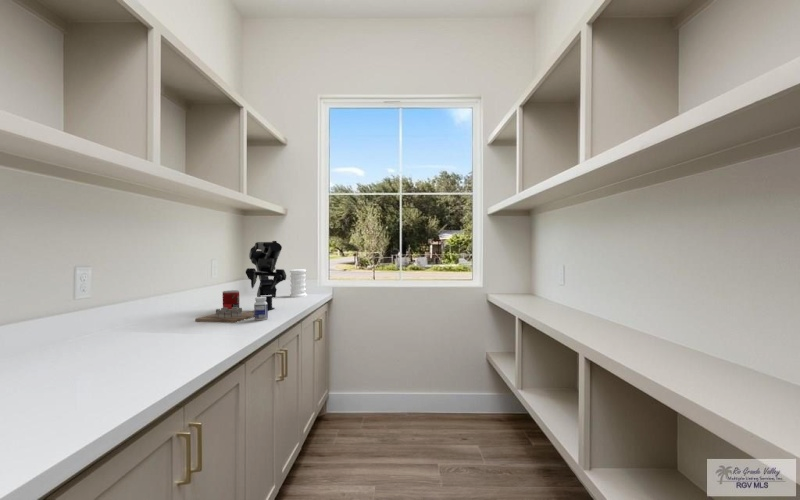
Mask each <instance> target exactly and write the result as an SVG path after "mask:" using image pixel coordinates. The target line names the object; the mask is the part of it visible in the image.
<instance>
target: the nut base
mask: <svg viewBox="0 0 800 500" xmlns="http://www.w3.org/2000/svg"><path fill="white" fill-rule="evenodd" d="M252 317H253V318H255V315H254V312H243V308H242V307H240V306H239V307H232V309H228V308H223V307H221V308H215V314H210V315H205V316H202V317H201V316H200V317H196V318H194V320H195V321H194V322H199V323H200V322H207V323H238V322H237V321H239V322H241V320H242V321H245V320H244V319H246V320H249V319H253V318H252ZM248 318H249V319H248Z"/></svg>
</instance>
